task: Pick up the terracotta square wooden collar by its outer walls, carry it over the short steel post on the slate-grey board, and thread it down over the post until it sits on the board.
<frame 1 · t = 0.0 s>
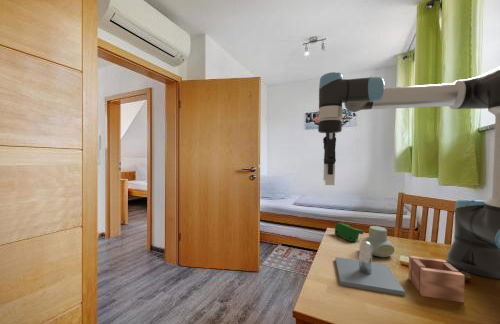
hand: (328, 182, 76), 28 cm above the table, tool pointing down, fingers open, 13 cm apart
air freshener: (377, 254, 85), on the table
post board: (365, 275, 69), on the table
steel post: (365, 256, 68), on the post board, point 6 cm above the table
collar: (433, 289, 62), on the table
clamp: (348, 238, 101), on the table
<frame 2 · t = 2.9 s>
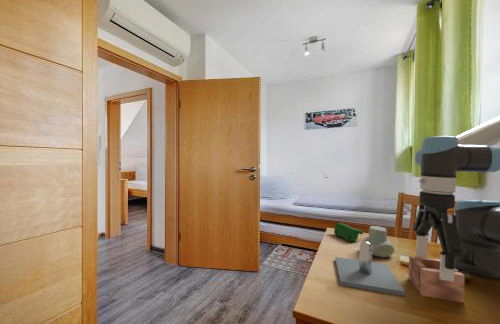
hand: (432, 267, 62), 6 cm above the table, tool pointing down, fingers open, 13 cm apart
nothing on the table moved.
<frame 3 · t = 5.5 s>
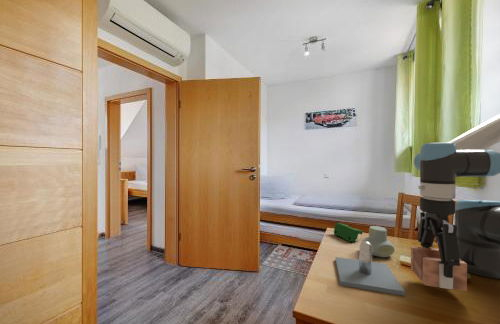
hand: (435, 277, 62), 3 cm above the table, tool pointing down, fingers closed on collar, 9 cm apart
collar: (436, 278, 62), point 3 cm above the table, touching gripper
everything else where it was.
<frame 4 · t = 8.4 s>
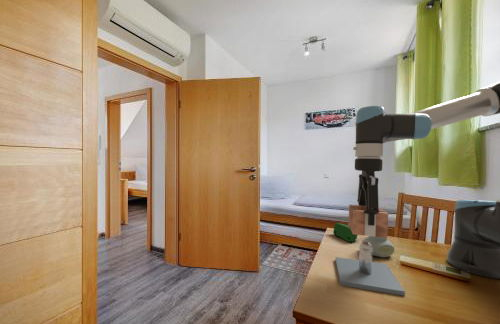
hand: (366, 230, 68), 14 cm above the table, tool pointing down, fingers closed on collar, 9 cm apart
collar: (366, 231, 68), point 14 cm above the table, touching gripper
everything else where it was.
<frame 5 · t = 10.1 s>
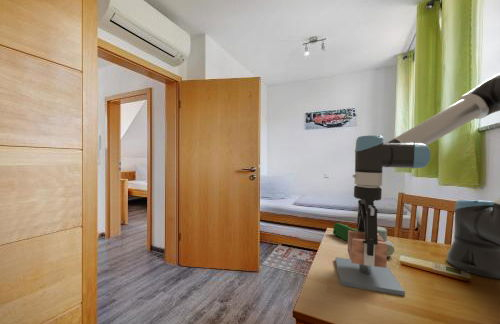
hand: (365, 257, 68), 6 cm above the table, tool pointing down, fingers closed on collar, 9 cm apart
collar: (365, 258, 68), point 5 cm above the table, touching gripper
everything else where it was.
when the fingers open (3 cm above the table, at t = 11.3 s): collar drops 2 cm, resting on post board.
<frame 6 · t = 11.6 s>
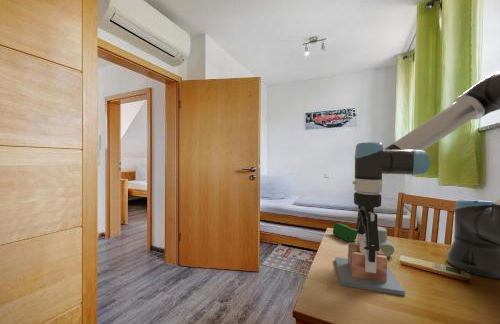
hand: (365, 261, 68), 4 cm above the table, tool pointing down, fingers open, 12 cm apart
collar: (365, 271, 69), point 1 cm above the table, touching post board
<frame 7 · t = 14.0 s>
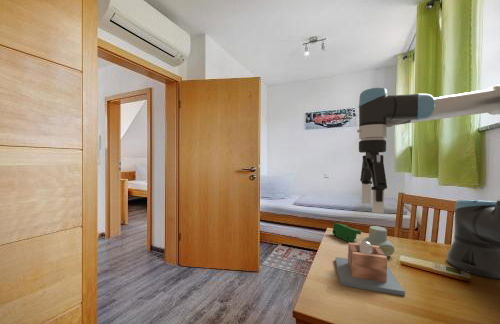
hand: (371, 207, 69), 21 cm above the table, tool pointing down, fingers open, 13 cm apart
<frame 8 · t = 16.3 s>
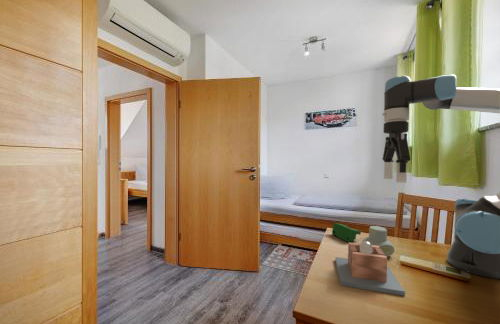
hand: (394, 180, 80), 29 cm above the table, tool pointing down, fingers open, 13 cm apart
at the end: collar 0.1 cm off-centre on the post board, point 1.2 cm above the post board's base; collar tilted 0°; the gripper is holding nothing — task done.
